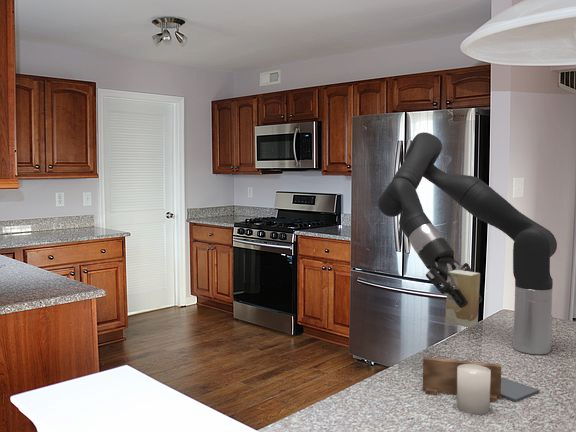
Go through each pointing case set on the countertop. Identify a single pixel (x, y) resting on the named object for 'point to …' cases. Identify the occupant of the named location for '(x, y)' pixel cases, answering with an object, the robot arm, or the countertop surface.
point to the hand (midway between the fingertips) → (471, 303)
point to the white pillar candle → (473, 389)
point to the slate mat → (516, 390)
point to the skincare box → (470, 290)
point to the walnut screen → (455, 376)
